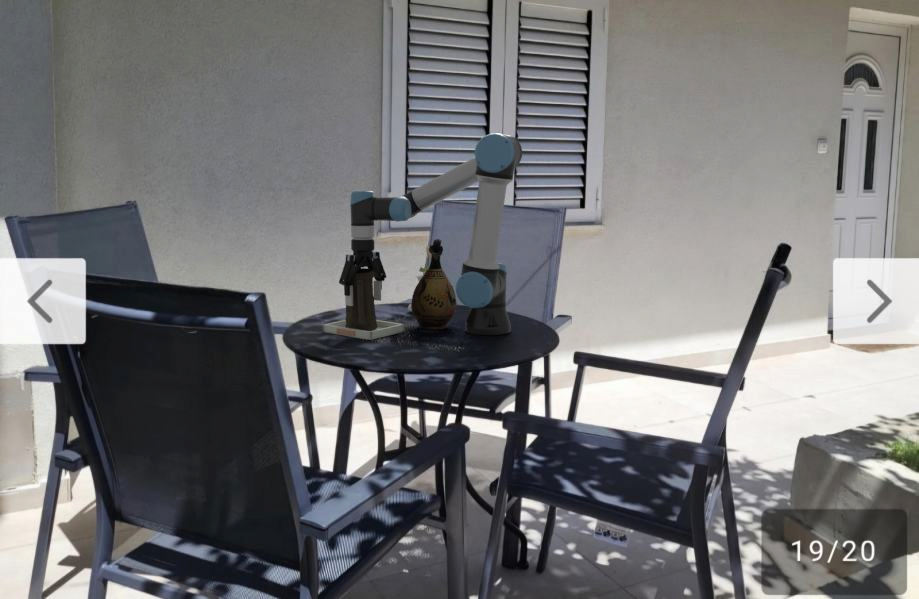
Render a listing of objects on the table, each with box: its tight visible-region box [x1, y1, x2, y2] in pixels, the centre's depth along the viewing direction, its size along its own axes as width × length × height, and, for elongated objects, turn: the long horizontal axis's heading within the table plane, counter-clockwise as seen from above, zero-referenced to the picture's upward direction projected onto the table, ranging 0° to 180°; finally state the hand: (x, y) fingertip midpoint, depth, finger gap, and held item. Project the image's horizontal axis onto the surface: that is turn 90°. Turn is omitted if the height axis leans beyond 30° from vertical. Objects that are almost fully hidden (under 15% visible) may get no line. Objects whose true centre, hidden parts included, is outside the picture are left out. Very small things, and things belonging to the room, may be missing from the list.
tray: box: [322, 319, 406, 341], centre depth 280 cm, size 17×21×2 cm
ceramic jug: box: [410, 238, 457, 331], centre depth 288 cm, size 17×15×30 cm
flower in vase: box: [407, 245, 432, 312], centre depth 317 cm, size 13×11×25 cm
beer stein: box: [344, 267, 378, 331], centre depth 278 cm, size 15×11×20 cm
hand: (363, 302), depth 279 cm, fingers open, 13 cm apart
